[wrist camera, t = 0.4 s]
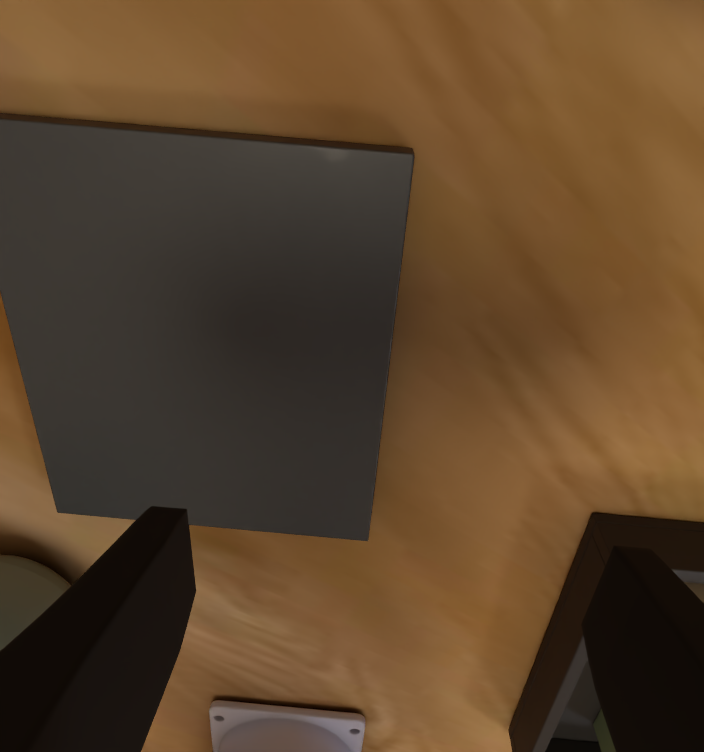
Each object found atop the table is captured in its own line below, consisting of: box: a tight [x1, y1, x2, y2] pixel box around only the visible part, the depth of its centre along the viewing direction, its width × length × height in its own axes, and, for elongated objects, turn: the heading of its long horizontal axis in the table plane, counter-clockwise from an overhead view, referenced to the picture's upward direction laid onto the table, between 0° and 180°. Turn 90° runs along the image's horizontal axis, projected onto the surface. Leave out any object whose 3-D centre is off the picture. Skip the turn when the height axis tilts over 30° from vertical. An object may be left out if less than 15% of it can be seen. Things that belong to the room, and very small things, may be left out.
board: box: [0, 113, 414, 541], centre depth 19 cm, size 14×12×1 cm
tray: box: [509, 513, 704, 752], centre depth 24 cm, size 15×11×2 cm
